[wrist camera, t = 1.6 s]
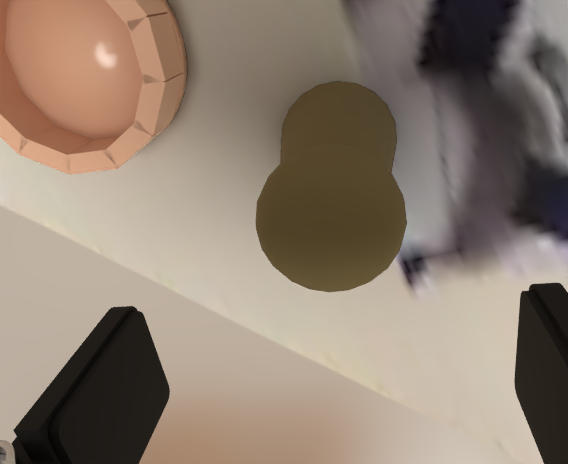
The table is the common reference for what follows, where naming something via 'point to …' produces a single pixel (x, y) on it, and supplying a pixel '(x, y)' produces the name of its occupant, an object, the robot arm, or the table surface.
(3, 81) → the copper faceted bowl
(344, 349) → the table surface
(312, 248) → the cork
